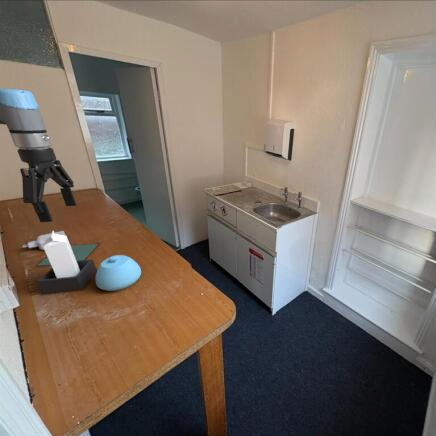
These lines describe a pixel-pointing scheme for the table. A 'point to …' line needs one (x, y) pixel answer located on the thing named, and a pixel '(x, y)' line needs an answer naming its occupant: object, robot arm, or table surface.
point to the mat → (75, 253)
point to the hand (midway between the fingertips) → (60, 213)
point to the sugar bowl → (117, 273)
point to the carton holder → (68, 279)
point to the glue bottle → (41, 240)
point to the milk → (61, 256)
